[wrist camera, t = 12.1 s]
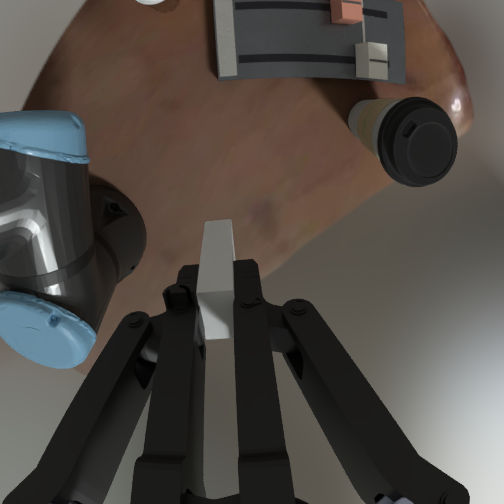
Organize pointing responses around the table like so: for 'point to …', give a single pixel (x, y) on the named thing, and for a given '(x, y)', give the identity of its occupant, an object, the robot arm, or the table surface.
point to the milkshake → (161, 4)
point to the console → (303, 39)
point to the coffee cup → (407, 138)
